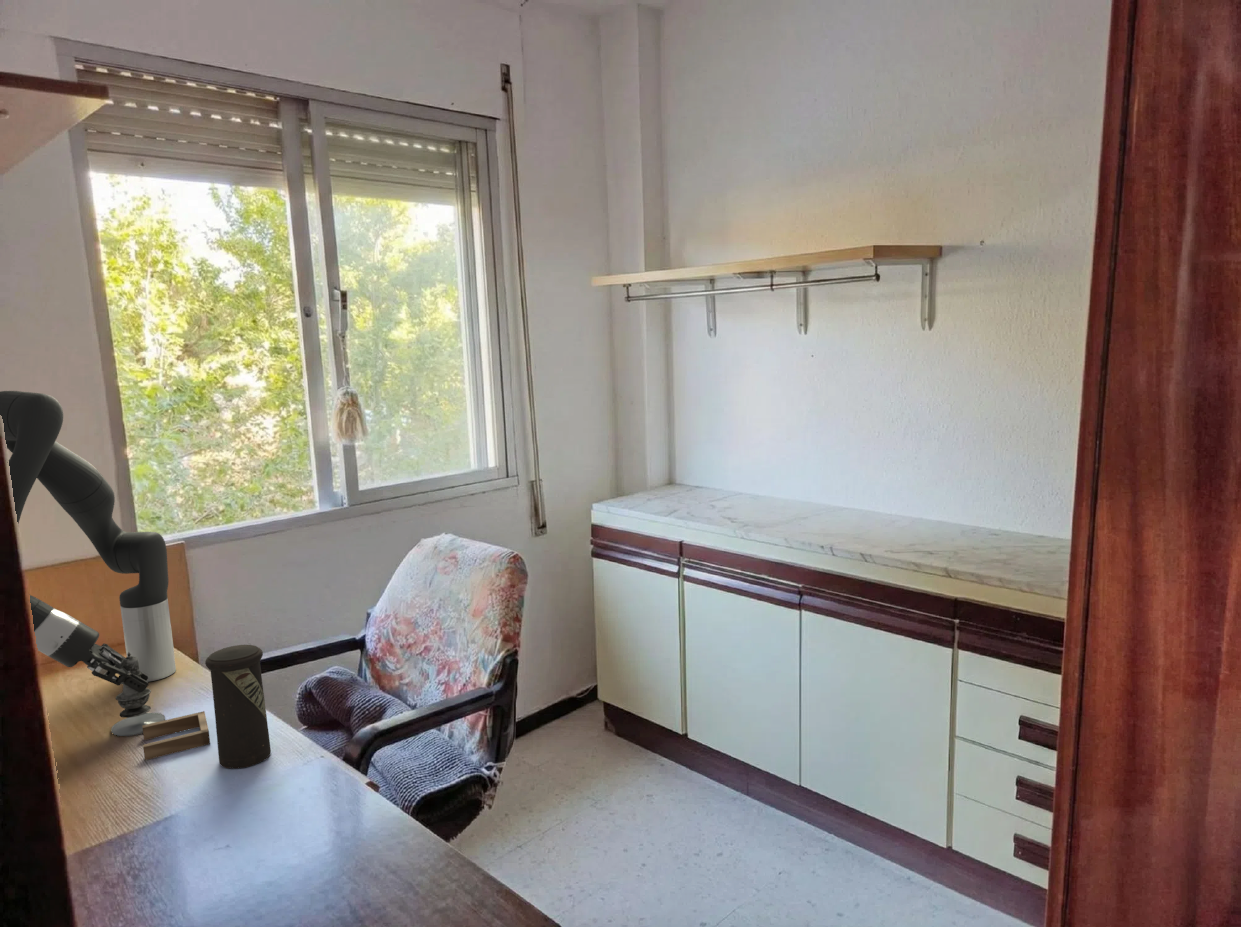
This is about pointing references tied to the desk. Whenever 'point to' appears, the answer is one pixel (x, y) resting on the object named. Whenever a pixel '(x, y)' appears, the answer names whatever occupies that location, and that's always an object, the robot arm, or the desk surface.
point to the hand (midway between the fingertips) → (144, 684)
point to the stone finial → (133, 692)
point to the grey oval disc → (135, 724)
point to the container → (239, 706)
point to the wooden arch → (177, 742)
